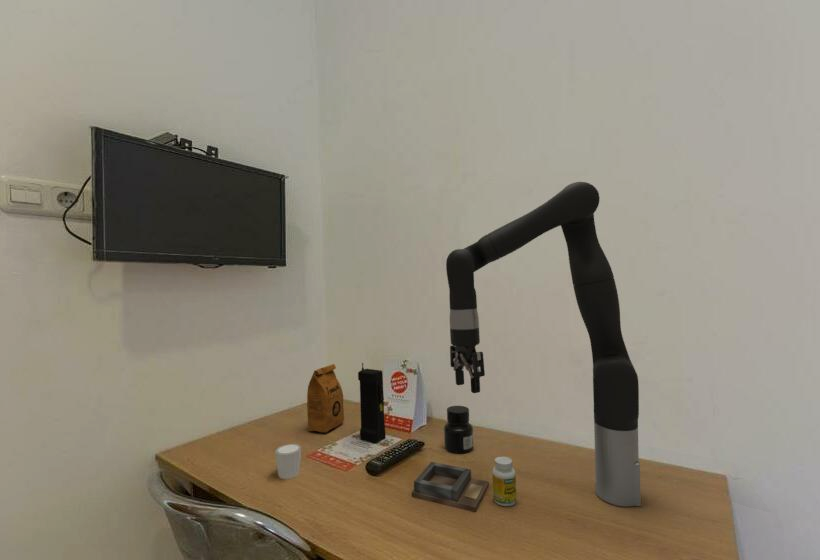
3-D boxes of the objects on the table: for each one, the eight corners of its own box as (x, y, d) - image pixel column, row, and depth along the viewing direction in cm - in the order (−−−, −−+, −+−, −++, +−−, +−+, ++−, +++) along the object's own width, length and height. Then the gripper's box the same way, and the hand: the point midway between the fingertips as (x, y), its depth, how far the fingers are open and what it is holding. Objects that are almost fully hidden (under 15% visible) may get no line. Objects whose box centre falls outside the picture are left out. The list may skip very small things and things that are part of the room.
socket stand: (489, 485, 99) (488, 471, 99) (475, 511, 89) (475, 496, 89) (430, 473, 106) (430, 460, 106) (411, 496, 96) (411, 482, 95)
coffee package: (348, 424, 144) (346, 364, 144) (325, 436, 133) (323, 371, 133) (328, 419, 149) (326, 361, 149) (303, 431, 138) (302, 369, 138)
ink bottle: (473, 455, 116) (472, 415, 116) (443, 454, 118) (442, 414, 118) (473, 441, 126) (472, 404, 126) (445, 440, 127) (444, 403, 127)
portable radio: (389, 437, 131) (387, 362, 130) (378, 444, 126) (376, 366, 125) (370, 433, 135) (368, 360, 135) (359, 439, 130) (357, 364, 130)
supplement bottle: (504, 491, 96) (503, 452, 96) (521, 501, 92) (520, 461, 92) (488, 499, 94) (487, 459, 93) (505, 510, 89) (504, 467, 89)
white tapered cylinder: (307, 470, 110) (306, 445, 110) (290, 482, 104) (289, 456, 104) (288, 466, 113) (287, 441, 113) (270, 477, 107) (269, 451, 107)
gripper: (491, 327, 97) (494, 393, 97) (464, 322, 110) (467, 380, 110) (464, 330, 94) (467, 397, 94) (440, 325, 108) (443, 384, 108)
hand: (467, 388), depth 102 cm, fingers open, 8 cm apart
